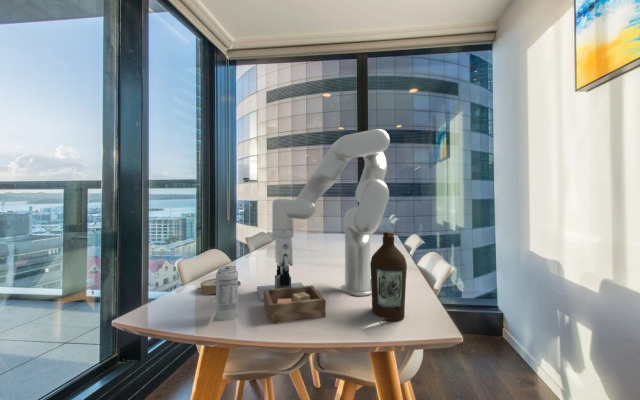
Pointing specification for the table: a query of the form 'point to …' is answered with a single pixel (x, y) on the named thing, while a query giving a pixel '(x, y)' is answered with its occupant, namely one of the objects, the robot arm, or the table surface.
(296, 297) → the maple block
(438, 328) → the table surface
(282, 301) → the terracotta block
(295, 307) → the box
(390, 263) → the olive oil
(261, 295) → the lid
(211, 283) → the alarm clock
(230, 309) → the energy drink can
